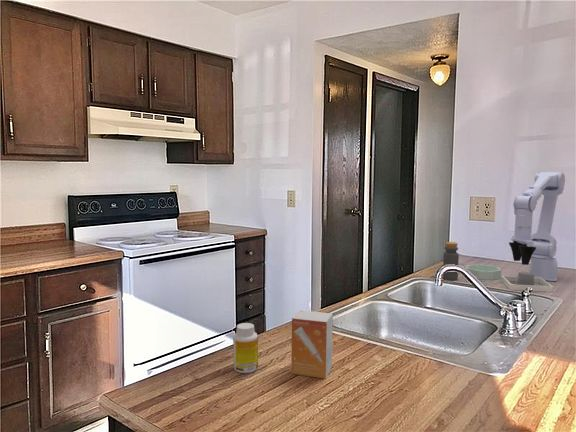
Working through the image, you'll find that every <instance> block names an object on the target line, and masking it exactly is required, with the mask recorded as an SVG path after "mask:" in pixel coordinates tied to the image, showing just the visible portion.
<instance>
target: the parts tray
mask: <svg viewBox="0 0 576 432" xmlns="http://www.w3.org/2000/svg"><path fill="white" fill-rule="evenodd" d="M500 281H501V282H502V283H503V284H504V285H505V287H506V288H508V289H509V290H510V291H523V290H524V289H526V288H528V287H530V288H532V289H533V291H532V292H548V293H553V292H554V286H553V285H552V284H551V283H549V281H548V282H547V281H545V280H543V279H542V278H541V277H534V283H537V285H535V284H534V285H518V284H516V283H515V284H513V283H511V282H517V283H518V276H517V275H516V276H515V275H514V276H513V275H501V278H500ZM538 284H539V285H538Z"/></svg>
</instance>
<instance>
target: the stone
mask: <svg viewBox="0 0 576 432" xmlns="http://www.w3.org/2000/svg"><path fill="white" fill-rule="evenodd" d="M517 285H535V282H534V274H532V273H530V272H529V271H528V272H523V271H518V282H517Z"/></svg>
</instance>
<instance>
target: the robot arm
mask: <svg viewBox="0 0 576 432" xmlns="http://www.w3.org/2000/svg"><path fill="white" fill-rule="evenodd" d="M565 183H566V176H565V173H564V172H563V171H537V172H536V173H535V176H534V184H533V185H529V186H527V188H526V189H525V190H524V191H523V193H522V194H521V195H517V196H515V197H514V199H513V202H512V203H513V205H512V206H513V210H514V211H513V213H514V215H515V220H514V221H515V223H514V235H513V236H512V237H511V238H510V241H511V242H508V245H509V247H510V249H511V252H512V258H513V261H514V262H521V265H523V266H524V265H525V266H526V265H527V266H528V265H529V264H530V267H529V273H532V274H534V277H541V278H542V279H543V280H545V281H546V282H547V281H548V282H552V281H553V282H557V281H558V261H557V258H555V256H556V254H557V243H558V241H557V240H556V238H555V237H554V236H552V235H551V232H552V227H553V222H554V216H555V211H556V205H557V201H558V197H559V196H560V195H562V194H563V191H564V189H565V185H566V184H565ZM542 195H543V200H542V206H541V209H540V216H539V220H538V227H537V230H536V232H535V233H532V227H533V213H534V211H536V209H537V207H536V206H537V205H538V201H539V199H540V198H541V197H542Z"/></svg>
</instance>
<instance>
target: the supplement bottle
mask: <svg viewBox="0 0 576 432" xmlns="http://www.w3.org/2000/svg"><path fill="white" fill-rule="evenodd" d="M258 337H259V336H258V333H257V332H256V331H255V325H254V324H253V323H250V322H242V323H239V324H236V332H235V333H234V334H233V337H232V339H233V343H232V344H233V345H232V347H233V369H234V370H235V372H237V373H240V374H250V373H253V372H255V371H257V369H258V367H259V343H258V342H259V340H258V339H259V338H258Z"/></svg>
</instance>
